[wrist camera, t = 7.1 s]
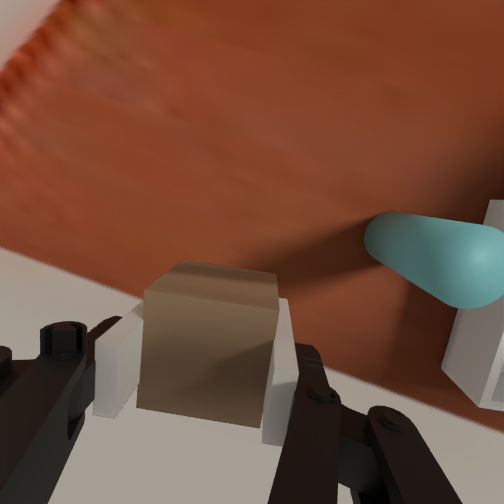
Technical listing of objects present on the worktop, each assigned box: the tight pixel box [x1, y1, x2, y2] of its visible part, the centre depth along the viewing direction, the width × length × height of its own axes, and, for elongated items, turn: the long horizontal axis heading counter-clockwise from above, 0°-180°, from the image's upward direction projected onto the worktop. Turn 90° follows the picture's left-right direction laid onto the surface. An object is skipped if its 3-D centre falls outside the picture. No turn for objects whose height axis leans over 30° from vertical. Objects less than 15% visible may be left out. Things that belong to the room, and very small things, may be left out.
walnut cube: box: [136, 260, 280, 428], centre depth 14 cm, size 5×5×5 cm
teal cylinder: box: [364, 212, 504, 309], centre depth 23 cm, size 5×5×12 cm
